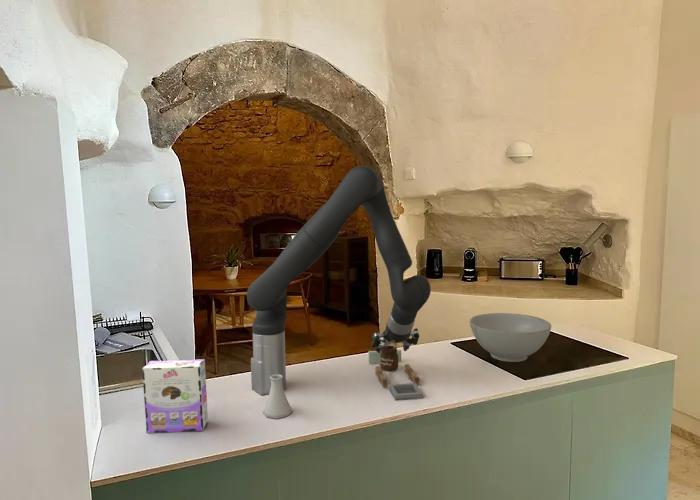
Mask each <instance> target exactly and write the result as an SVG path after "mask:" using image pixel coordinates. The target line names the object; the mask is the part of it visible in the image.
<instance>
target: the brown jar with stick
mask: <svg viewBox="0 0 700 500" xmlns="http://www.w3.org/2000/svg"><path fill="white" fill-rule="evenodd" d="M393 344H394V345H387V346H383V347H382V348H381V354H380V364H379V367H380V369H381V370H382V372H383V371H384V372H388V373H389V372H390V373H391V372H395V371H398V369H399V362H398V354H397V349H398V348H397V347H396V345H397V343H393Z"/></svg>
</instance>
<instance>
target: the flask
mask: <svg viewBox="0 0 700 500" xmlns="http://www.w3.org/2000/svg"><path fill="white" fill-rule="evenodd" d="M270 379H271V389H270V393H269V394H268V397H267V400H266V401H265V405H264V409H263V410H262V414H263V415H264V416H265V418H270V419H276V420H277V419H282V418H285V417H288V416H289V415H290V414H292V412H293V410H292V406H291V405H290V402H289V401H288V399H287V395H286V394H285V390H283V386H282V379H283V376H282V375H278V374H276V375H272V376H270Z"/></svg>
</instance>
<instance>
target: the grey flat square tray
mask: <svg viewBox="0 0 700 500" xmlns="http://www.w3.org/2000/svg"><path fill="white" fill-rule="evenodd" d="M388 391H389V393H390V394H391V395H392V397H393V399H394V401H404V400H406V401H407V400H416V399H424V392H423V391H422V390H421V387H420V386H417V384H416V383H413V382H410V383H409V382H407V383H395V384H388Z"/></svg>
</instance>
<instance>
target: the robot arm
mask: <svg viewBox="0 0 700 500" xmlns="http://www.w3.org/2000/svg"><path fill="white" fill-rule="evenodd" d="M384 186H385V185H384V182H383V178H382V176H381V174H380V173H379V172H378V171H377V170H376V169H374V168H372V167H369V166H366V165H359V166H356V167H353V168H352V169H350V170H349V171H348V172H347V173H346V174H345V175H344V177H343V179H342V181H340V183H339V185H338V186H337V188H336V189H335V190H334V192H333V193H332V195H331V196H330V197H329V199H328V200H327V201H326V202H325V203H324V204H323V205H322V206H321V207H320V208H319V209H318V210H317V211H316V212H315V213H314V214H313V215H312V216H311V217H310V218H309V219H308V220H307V222H305V223H304V225H303V226H302V227H301V228H300V229H299V231H298V232H297V233H296V234H295V235H294V236H293V238H292V239H291V240H290V241H289V242H288V244H286V246H285V247H284V248H283V250H282V251H281V253H280V254H279V256H277V258H276V260H274V262H273V263H272V264H271V265H270V266H269V267H268V268H267V269H266V270H265V271H263V273H261V274H260V275H259V276H258V277H257V278H256V279H255V280H254V281H253V282H251V284H250V285H249V286H248V288H247V292H246V300H247V304H248V306H250V308H251V309H253V310H254V311H256V315H255V317H254V319H253V322H252V328H251V330H252V350H253V351H252V353H253V356H252V357H251V358H250V372H251V373H250V376H251V379H250V380H251V381H250V382H251V390H252V391H255V392H256V393H257V394H259V395H261V396H263V395H269V393H270V389H271V379H270V376H272V375H276V374H278V375H282V376H283V379H282V386H283V390H284V391H285V390H286V389H287V372H286V371H287V370H286V368H287V367H286V336H285V335H286V333H285V332H286V331H285V329H286V328H285V325H286V320H287V311H288V309H287V306H288V305H287V304H288V302H287V288H288V287H289V285H290V284H291V283H292V282H293V281H294V280H295V279H296V278H297V277H299V276H301V275H302V273H304V272H305V271H307V269H309V268H310V267H312V265H314V264H315V263H316V262H317V261H318V260H319V259H320V258H321V257H322V256H323V255H324V254H325V253H326V251H327V250H329V248H330V247H331V246H332V244H333V243H334V242H335V241H336V239H337V237H338V236H339V234H340V232H341V230H342V228H343V227H344V225H345V223H346V221H348V219H349V218H350V217H351V216H352V215H353V214H354V213H355V212H356V211H357V210H358V209H359V208H360V207H361V206H363V208H364V210H365V212H366V214H367V217H368V218H369V220H370V224H371V226H372V229H373V230H372V231H373V234H374V238H375V241H376V245H377V248H378V251H379V254H380V256H381V258H382V261H383V262H384V265H385V268H386V270H387V275H388V280H389V287H390V294H391V298H392V300H393V302H394V303H393V305H392V309H391V311H390V313H389V315H388V318H387V322H386V324H385V328H384V329H385V330H384V331H382V332H379V331H378V330H375V331H373V333H372V335H371V339H370V341H371V342H370V343H371V347H372V348H373V349H374V348H375V351H376V352H378V353H380V352H381V348H382V347H383V346H390V345H391V344H394V343H396V344H398V343H399V344H403V345H402V349H403V351H404V352H407V351H408V350H409V349H410V347H411V346H412V345H413V346H415V345H417V344H418V341H419V338H420V333H419V328H418V327H417V328H413V327H414V325H415V321H416V317H417V315H418V313H419V311H420V310H421V309H422V308H423V307H424V305H425V304H426V303H427V301H428V300H429V298H430V295H431V290H432V289H431V283H430V281H429V279H427V278H426V277H425V276H424V275H420V274H416V275H412V276H410V277H408V278H406V279H404V275H405V273H406V271H407V270H408V269H410V268H411V267H412V265H413V260H412V257H411V255H410V252H409V251H408V248H407V246H406V244H405V241H404V239H403V237H402V235H401V233H400V230H399V228H398V226H397V224H396V221H395V219H394V217H393V214H392V211H391V208H390V206H389V203H388V198H387V195H386V191H385V187H384Z"/></svg>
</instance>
